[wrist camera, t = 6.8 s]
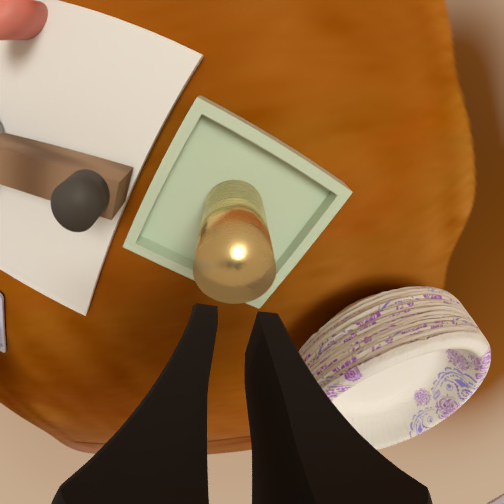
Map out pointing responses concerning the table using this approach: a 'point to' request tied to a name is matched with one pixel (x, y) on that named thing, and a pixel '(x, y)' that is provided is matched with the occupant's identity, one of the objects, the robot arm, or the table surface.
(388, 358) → the paper bowls
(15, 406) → the table surface
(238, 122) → the tray
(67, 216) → the crank
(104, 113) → the board
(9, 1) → the post
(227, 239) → the pin
